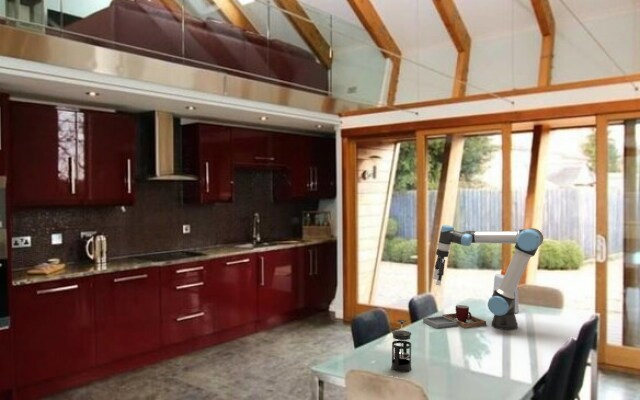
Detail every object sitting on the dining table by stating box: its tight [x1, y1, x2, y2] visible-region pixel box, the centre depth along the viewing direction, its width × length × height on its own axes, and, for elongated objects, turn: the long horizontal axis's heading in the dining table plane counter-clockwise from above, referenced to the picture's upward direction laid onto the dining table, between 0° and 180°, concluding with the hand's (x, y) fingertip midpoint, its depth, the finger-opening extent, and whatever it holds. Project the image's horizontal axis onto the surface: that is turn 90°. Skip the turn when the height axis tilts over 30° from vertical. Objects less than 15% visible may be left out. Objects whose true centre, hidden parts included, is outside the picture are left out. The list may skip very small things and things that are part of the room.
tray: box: [422, 315, 459, 330], centre depth 311 cm, size 15×15×3 cm
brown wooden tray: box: [441, 312, 487, 330], centre depth 317 cm, size 23×16×3 cm
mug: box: [455, 304, 473, 323], centre depth 316 cm, size 11×8×10 cm
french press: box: [390, 318, 413, 373], centre depth 235 cm, size 12×9×23 cm
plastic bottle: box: [492, 270, 520, 315], centre depth 346 cm, size 15×15×28 cm
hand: (436, 282), depth 317 cm, fingers open, 13 cm apart
